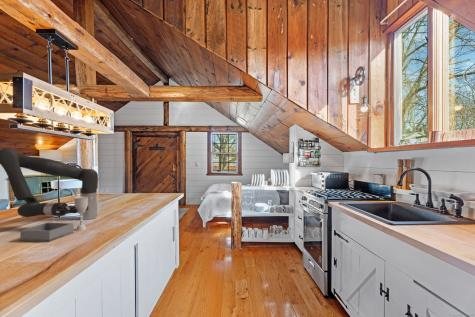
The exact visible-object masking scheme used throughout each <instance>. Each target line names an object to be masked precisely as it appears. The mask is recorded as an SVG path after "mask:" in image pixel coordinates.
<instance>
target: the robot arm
mask: <svg viewBox="0 0 475 317" xmlns="http://www.w3.org/2000/svg"><path fill="white" fill-rule="evenodd" d="M0 166H1V167H2V168H3V170H4V171H5V173H6V175H7V176H6V177H7V178H8V181H9V184H10V185H9V186H10V187H11V191H12V192H13V195H14V197H15V199H16V201H18V202H19V201H20V202H22V201H24V202H25V203H24V204H21V205H20V206H19V207H18V208H17V211H16V212H17V214H18V215H19V216H20V217H22V218H30V217H37V216H48V217H64V216H65V215H67V214H68V215H70V214H79V213H78V210H77V209H76V208H75V204H74V205H72V204H70V205H68V204H67V203H66V202H41V203H40V201H39V200H38V199H37V198H36V197H35V195H33V193H32V192H31V189H30V186H29V185H28V182H27V180H26V178H25V176H24V173H23V172H22V168H23V169H27V170H30V171H33V172H36V173H41V174H43V175H49V176H53V177H60V178H61V177H62V178H63V177H64V178H70V179H75V180H78V181H81V188H80V197H84V196H87V197H89V198H88V206H87V209H86V211H85V212H84V213H83V214H82V216H83V218H82V220H83V221H84V220H85V221H86V220H94V219H97V217H98V203H97V197H98V196H97V193H98V192H97V190H98V188H99V186H98V185H99V177H98V176H99V175H98V172H97V171H96V170H94V169H91V168H82V167H76V166H72V165H70V164H67V163H64V162H61V161H58V160H56V159H50V158H45V157H40V156H39V157H37V156H31V155H25V154H21V153H20V152H17V151H16V150H14V149H13V148H9V147H8V148H6V147H5V148H4V147H3V148H1V149H0Z"/></svg>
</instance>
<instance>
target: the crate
mask: <svg viewBox="0 0 475 317" xmlns="http://www.w3.org/2000/svg"><path fill="white" fill-rule="evenodd" d="M73 233H74V223H73V222H71V223H70V222H46V223H42V224H39V225H35V226H31V227H28V228H25V229H21V230H20V232H19V234H20V235H19V237H20V238H19V239H20V242H40V243H41V242H45V243H46V242H47V243H49V242H50V243H51V242H52V241H56V240H58V239H61V238H63V237H66V236H68V235H70V234H73Z"/></svg>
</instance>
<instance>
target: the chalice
mask: <svg viewBox="0 0 475 317" xmlns="http://www.w3.org/2000/svg"><path fill="white" fill-rule="evenodd" d="M88 198H89V197H87V196H84V197H81V196H75V197H73V199H74V205H75V208H76V209H77V210H78V213H77V214H79V224H78V225H77V227H76V228H75V231H84V230H86V229H87V227H86V225H85V224H84V223H83V222H84V220H82V218H83V216H82V214H83V213H84V212H85V211H86V209H87V206H88Z"/></svg>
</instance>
